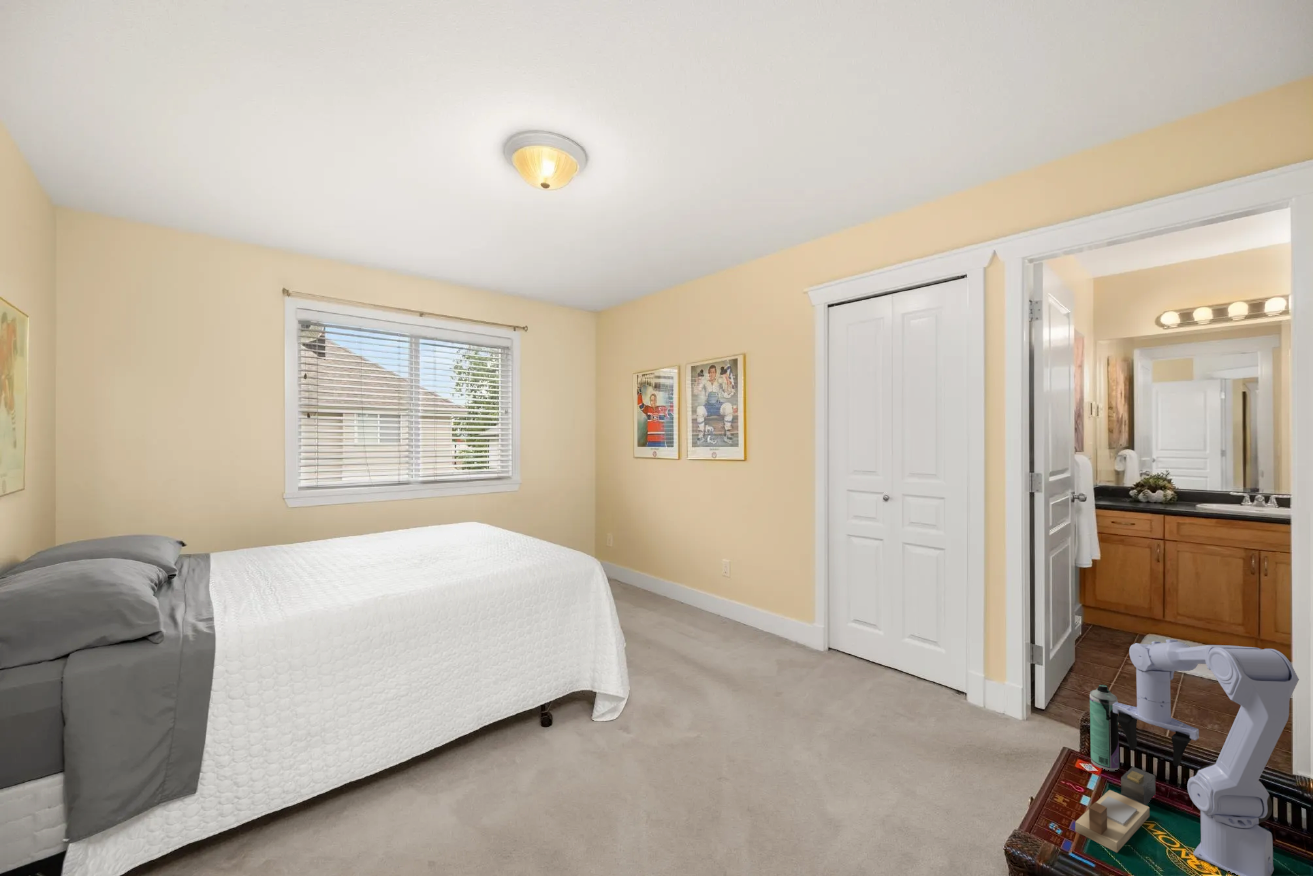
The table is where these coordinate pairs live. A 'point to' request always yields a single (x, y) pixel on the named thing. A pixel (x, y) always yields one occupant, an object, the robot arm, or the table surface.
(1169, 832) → the table surface
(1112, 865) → the table surface
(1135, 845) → the table surface
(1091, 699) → the spray can
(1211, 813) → the robot arm
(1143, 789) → the lever cap
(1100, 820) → the hand plane
